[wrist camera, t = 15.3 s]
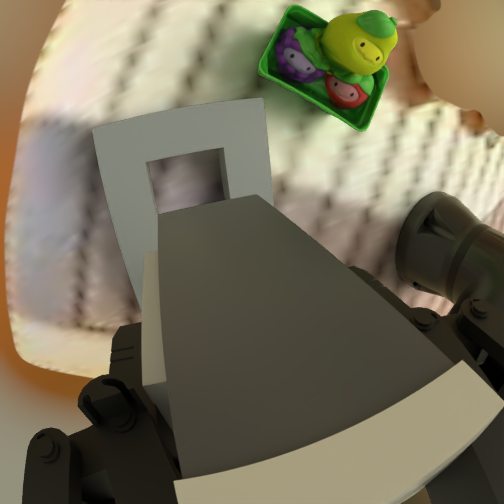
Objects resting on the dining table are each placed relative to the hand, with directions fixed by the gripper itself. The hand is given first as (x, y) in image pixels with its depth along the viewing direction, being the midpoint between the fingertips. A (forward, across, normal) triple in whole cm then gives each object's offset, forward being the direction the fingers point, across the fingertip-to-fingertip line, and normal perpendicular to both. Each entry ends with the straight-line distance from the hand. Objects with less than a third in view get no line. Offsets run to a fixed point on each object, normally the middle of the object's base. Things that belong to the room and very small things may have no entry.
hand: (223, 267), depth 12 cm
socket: (+16, 0, +2) cm, 17 cm away
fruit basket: (+17, -13, -10) cm, 23 cm away
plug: (+2, 0, 0) cm, 2 cm away
